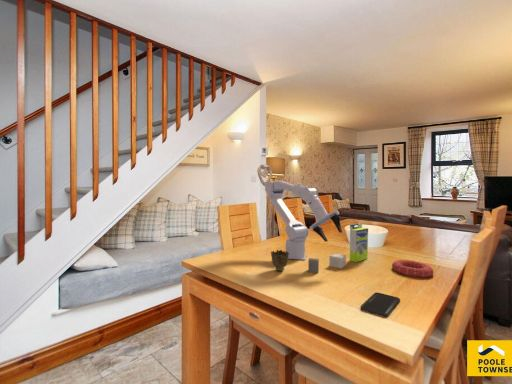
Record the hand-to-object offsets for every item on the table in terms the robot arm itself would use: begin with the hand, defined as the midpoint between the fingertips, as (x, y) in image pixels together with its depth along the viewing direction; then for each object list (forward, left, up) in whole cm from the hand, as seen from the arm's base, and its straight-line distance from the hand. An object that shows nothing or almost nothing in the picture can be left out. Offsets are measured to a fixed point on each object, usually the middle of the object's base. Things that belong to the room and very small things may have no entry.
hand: (333, 236), depth 121 cm
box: (+12, +18, -14) cm, 26 cm away
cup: (-22, -8, -14) cm, 28 cm away
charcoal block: (-8, -5, -14) cm, 17 cm away
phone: (+14, -32, -15) cm, 38 cm away
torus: (+32, +5, -15) cm, 35 cm away
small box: (+2, +5, -14) cm, 15 cm away
